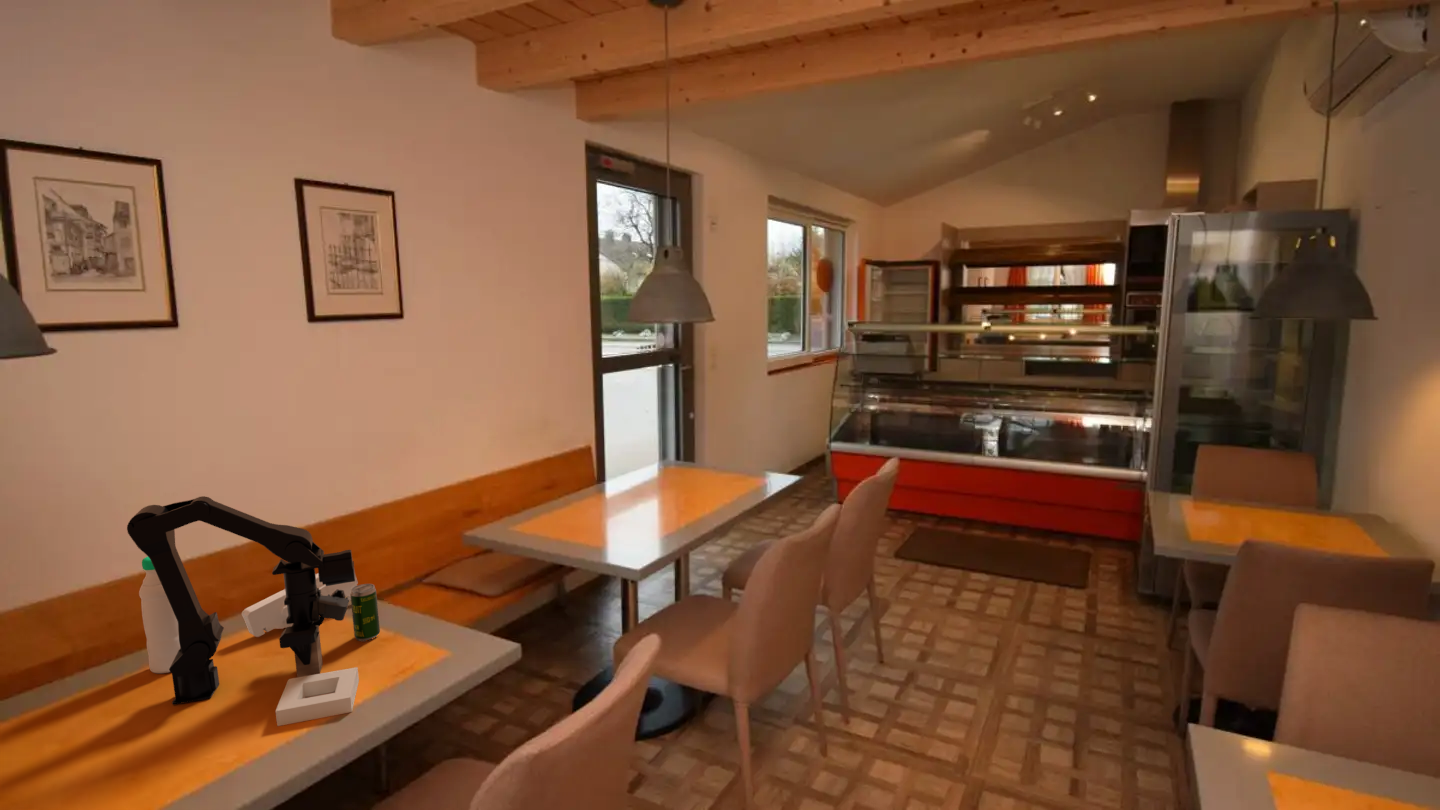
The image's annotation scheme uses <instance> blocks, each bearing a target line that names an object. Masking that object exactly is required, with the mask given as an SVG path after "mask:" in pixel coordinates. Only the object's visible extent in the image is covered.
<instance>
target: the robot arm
mask: <svg viewBox="0 0 1440 810" xmlns="http://www.w3.org/2000/svg"><path fill="white" fill-rule="evenodd" d="M199 521H200V522H203V523H205V524H207V525H211V526H213V527H215V528H219V529H221V530H224V531H226V532H228V533H231V534H233V535H236V536H239V537H242V538H245V539H248V540H250V541H253V542H255V543H258V544H260V545H261V546H263V547H264V548H265V549H267V550H268V551H269V552H271V553H272V554H273V555H274V556H277V558H280V560H279V562H278V563H277V564H276V565H275V566H274V567H273V569H272V571H271V573H272V575H273V576H276V575H281V574H283V581H284V589H285V591H286V598H285V600H284V605H287V610H288V617H287V619H286V622H287V624H292V623H293V625H292V626H291V627H287V628H285V629H284V630H283V631H282V632H281V634H280V637H279V638H278V640H279V647H280V648H281V649H287V648H290V649H291V650H292V652H293V653H294V655H295V654H296V655H297V657H298V658H299V659H300V660H301V662H302V663H303V664H304V665H309V664H310V660H311V649H312V643H314V642H315V641H316V639H317V637H318V634H320V631H319V632H317V627H316V625H319V627H320V626H321V625H322V624H323V623H324V621H325V618H326V619H331V620H335V621H341V622H342V621H344V619H345V617H346V614H347V613H346V612H347V610H348V605H349V603H350V600H348V596H346V597H345V594H344V591H343V590H338V589H337V590H336V591H335V592H334V593H333V594H332V595H331V596H330V595H329V594H328V596H324V595H321V590H319V588H317V585H316V575H315V574H316V569H317V570H318V571H317V572H318V574H319V582H322V583H323V584H326V586H330V585H336V584H342V583H348V582H354V581H355V575H356V571H355V562H354V560H353V553H352V549H344V550H342V551H337V552H333V553H332V552H330V553H325V551H324V550H323V549H322V547H320V545H317V544H316V543H315V542H314V540H313V536H312V534H311V533H310V531H308V530H307V529H304V528H301V527H296V526H292V525H286V524H277V523H271V522H268V521H266V520H263V519H261V518H258V517H256V516H253V515H251V514H248V513H246V512H243V511H241V510H238V509H236V508H233V507H230V506H229V505H225V504H223V503H220V502H218V501H215V500H213V499H212V498H210V497H209V496H198V497H195V498H192V499H189V500H183V501H177V502H174V503H170V504H166V505H159V504H149V505H147V506H144V507H142V508H141V509H140V510H139V511H138V512H137V513H136V514H134V516H132V517H131V519H130V520H129V522H128V524H127V525H126V531H127V535H129V537H130V538H131V540H132V541H133V543H134V544H135V545H136V547H137V549H139V550H140V551H141V552H143V553H144V554H145V556H146V557H149V558H150V560H151V562H152V564H153V566H154V569H155V571H156V573H157V575H158V578H159V580H160V582H161V585H162V587H163V589H164V591H165V594H166V596H167V598H168V601H169V603H170V605H171V607H172V610H173V612H174V614H175V617H176V619H177V621H178V632H179V643H180V649H179V651H178V653H177V655H176V657H175V659H174V660H173V662H172V664H171V666H170V668H169V670H170V672H169V673H171V678H172V683H173V693H174V699H173V700H172V705H174V706H175V705H181V704H186V703H187V704H188V703H192V702H197V701H203V700H208V699H211V698H212V697H213V695H214V693H215V692H216V691H217V689H218V687H219V685H220V678H219V672H218V671H219V670H218V666H216V665H214V664H215V663H214V659H213V658H212V657H214V655H215V654H216V652H217V649H218V647H219V645H220V642H221V639H222V634H223V631H224V629H225V628H224V626H223V625H221V623H220V622H219V621H220V620H219V617H218V613H217V612H216V611H215V612H213V613H211V614H208V613H207V612H206V611H205V610H204V608H202V605H201V604H200V601H199V599H198V596H197V593H196V591H195V589H194V587H193V585H192V582H191V580H190V577H189V576H188V573H187V570H186V568H185V565H184V563H183V560H182V558H181V557H180V555H179V552H178V549H177V547H176V537H175V536H176V533H175V530H177V529H179V528H181V527H184V526H185V527H186V526H187V525H190V524H192V523H193V524H194V523H196V522H199Z"/></svg>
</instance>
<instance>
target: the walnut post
mask: <svg viewBox="0 0 1440 810" xmlns="http://www.w3.org/2000/svg"><path fill="white" fill-rule="evenodd" d="M316 627H317V632H319V634H318V637H317V639H316V641H315V642H314V643H312V649H311V660H310V664H309V665H304V664H303V663H302V662H301V660H300V659H299V658H298V657H297V655H296V654H295V653H294V658H295V659H294V661H295V669H296V678H298V677H303V676H309V675H315V674H321V670H322V669H323V662H324V661H323V653H322V645H321V635H320V626H319V625H316Z"/></svg>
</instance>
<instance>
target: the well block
mask: <svg viewBox="0 0 1440 810" xmlns="http://www.w3.org/2000/svg"><path fill="white" fill-rule="evenodd" d="M358 670H359V668H358V666H355V667H350V668H346V669H345V668H344V669H337V670H334V671H328V672H320V673H319V674H314V675H308V676H302V677H293V678H289V679H288V680H287V682H286V685H285V688H284V689H283V692H282V695H281V697H280V699H279V701H278V704H277V706H276V709H275V716H276V717H275V718H276V719H275V720H276V724H277V727H281V726H284V725H291V724H296V723H302V722H306V721H310V720H317V719H323V718H327V717H332V716H337V715H342V714H348V713H353V709H354V703H355V699H356V694H357V691H358V686H359V682H360V679H359V678H360V677H359V671H358Z"/></svg>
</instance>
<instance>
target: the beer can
mask: <svg viewBox="0 0 1440 810" xmlns="http://www.w3.org/2000/svg"><path fill="white" fill-rule="evenodd" d="M350 596H351V601H350V602H351V603H350V605H351V616H352V625H353V626H352V627H353V634H354V635H353V636H354V638H355V639H356V641H358V642H367V641H366V640H369V639H372V638H374V637H376V636H377V635H378V634H379V635H380V632H381V627H380V619H379V618H380V617H379V605H378V597H377V589H376V587H375V584H373V583H364V584H362V583H361V584H357V586H355V587H353V588H352V589H351V594H350ZM379 635H378V636H379ZM376 638H377V637H376ZM372 640H373V639H372ZM369 641H370V640H369Z"/></svg>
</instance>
